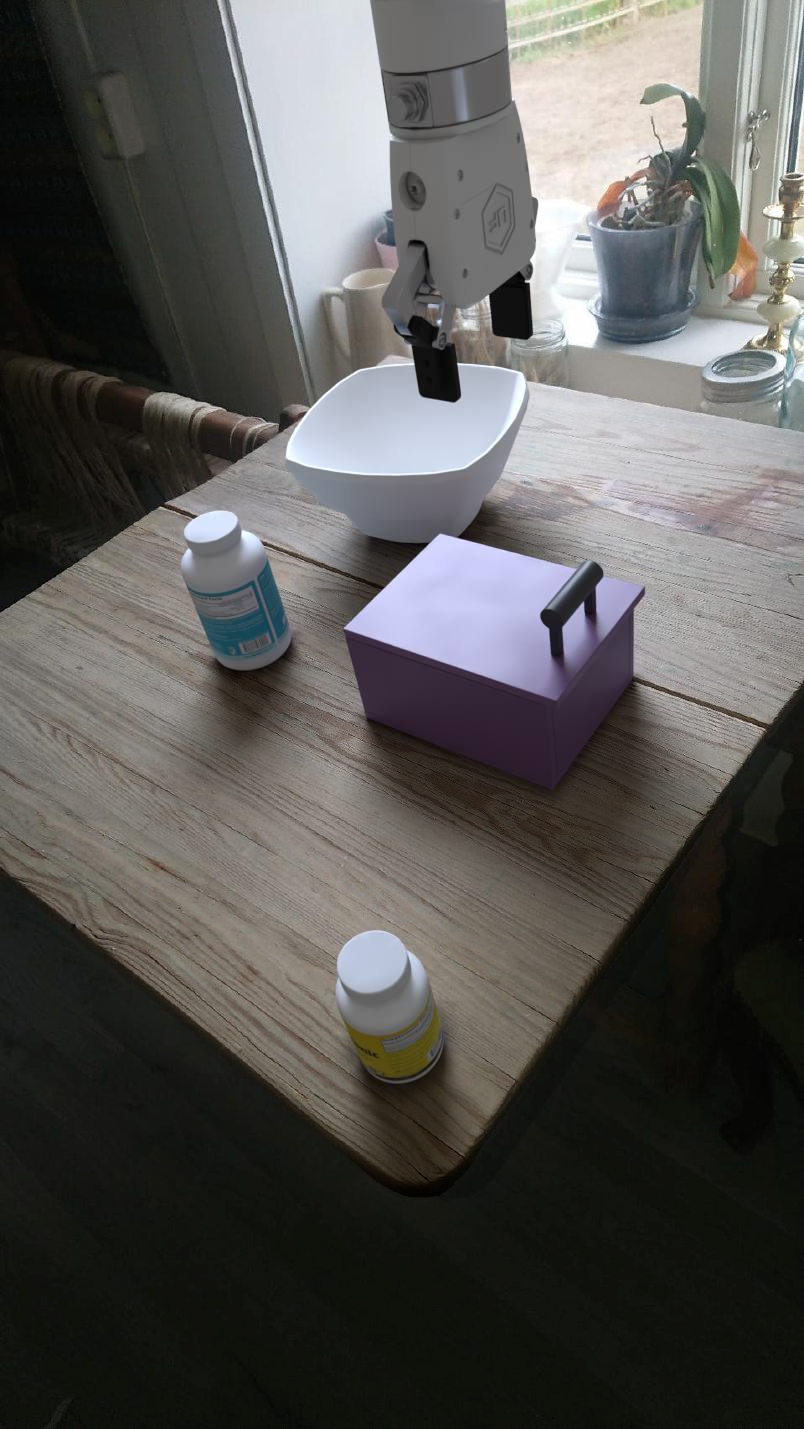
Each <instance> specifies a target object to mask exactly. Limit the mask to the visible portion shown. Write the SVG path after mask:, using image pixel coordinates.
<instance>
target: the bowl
mask: <svg viewBox="0 0 804 1429" xmlns="http://www.w3.org/2000/svg"><path fill="white" fill-rule="evenodd" d="M457 364H458V372H459V380H460V388H461V398H460V399H459V400H458V401H457V402H455V403H451V402H446V401H440V400H435V399H429V398H424V397H422V396H421V395H420V394H419V390H418V384H417V378H416V371H415V365H414V362H413V363H412V362H411V363H396V364H385V365H378V366H372V367H365V368H360V369H358V370H356V371H354V372H352V373H351V374H349V375H348V376H346V377H344V378H343V379H340V381H338V382H337V383H336V384H334V385H333V386H332V387H331V388H330V389H329V390H328V391H327V392H325V393H324V394H323V395H322V396H321V397H320V398H319V399H318V400H317V401H316V402H315V403H314V404H313V405H312V406H311V407H310V408H309V409H308V410H307V412H305V414H304V416H303V417H302V419H300V421H299V423H298V424H297V426H296V427H295V429H294V431H293V433H292V434H291V436H290V438H289V440H288V442H287V445H286V449H285V450H286V451H285V457H284V466H285V468H286V470H287V471H288V472H289V473H290V474H291V475H293V477H294V478H295V479H296V480H297V481H298V482H299V483H300V484H301V485H302V486H304V488H305V489H306V490H307V491H308V492H309V493H310V494H311V495H312V496H313V497H314V498H315V499H316V500H317V501H318V502H319V503H320V504H321V505H322V506H324V507H325V508H327V509H329V510H332V511H335V512H337V513H341V514H344V515H345V516H346V517H347V519H348V520H349V521H350V522H351V523H352V524H353V525H354V526H355V527H356V528H357V529H358V530H359V532H360V533H362V534H364V535H366V536H369V537H374V538H377V539H381V540H386V541H390V542H396V543H409V544H425V543H426V544H427V543H428V544H430V543H431V542H432V541H433V540H434V539H435V538H436V537H437V536H438V535H439V534H444V535H448V536H452V537H455V538H459V536H460V535H461V534H462V533H463V532H464V531H466V529H467V528H468V527H469V526H470V525H471V524H472V522H473V521H474V520H475V518H476V516H478V514H479V513H480V510H481V507H482V505H483V503H484V502H483V501H484V500H485V497H486V496H487V495H488V494H489V492H490V491H492V489H493V487H494V486H495V484H497V482H498V481H499V479H500V478H501V476H502V474H503V472H504V469H505V467H506V465H507V462H508V460H509V457H510V455H511V453H512V450H513V448H514V447H513V446H514V444H515V441H516V439H517V436H518V433H519V431H520V428H521V426H522V423H523V421H524V417H525V415H526V413H527V409H528V406H529V400H530V397H531V394H530V390H529V386H528V381H527V378H526V376H525V375H524V374H523V372H521V371H518V370H513V369H510V368H505V367H501V366H495V365H494V366H493V365H484V364H476V363H475V364H474V363H459V362H457Z"/></svg>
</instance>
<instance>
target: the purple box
mask: <svg viewBox="0 0 804 1429" xmlns="http://www.w3.org/2000/svg"><path fill="white" fill-rule="evenodd" d="M634 635H635V609H634V610H633V611H632V612H631V614H630V615H629V616H628V617H627V619H626V620H625V621H624V623H623V624H622V625H621V627H620V628H619V629H618V631H617V632H616V633H615V634H614V636H613V637H612V638H611V640H610V641H609V642H608V644H607V645H606V646H605V648H604V649H603V650H602V651H601V653H600V654H599V655H598V657H597V658H596V659H595V661H594V662H593V663H592V665H591V666H590V667H589V668H588V670H587V671H586V672H585V674H584V675H583V676H582V678H581V679H580V680H579V682H578V683H577V684H576V685H575V687H574V688H573V689H572V691H571V692H570V693H569V695H568V696H567V697H566V699H565V700H564V701H563V702H562V704H561V705H560V706H559V708H558V709H555V708H552V707H549V706H546V705H543V704H540V703H537V702H534V701H531V700H528V699H525V698H523V697H520V696H517V695H514V694H511V693H508V692H505V691H502V690H499V689H496V688H493V687H491V686H488V685H485V684H482V683H479V682H476V681H473V680H470V679H467V678H464V677H461V676H459V675H456V674H453V673H450V672H447V671H444V670H441V669H438V668H435V667H432V666H429V665H427V664H424V663H421V662H418V661H415V660H412V659H409V658H406V657H403V656H400V655H397V654H394V653H392V652H389V651H386V650H383V649H380V648H377V647H374V646H371V645H368V644H365V643H362V642H360V641H357V640H354V639H351V638H348V637H345V642H346V645H347V649H348V653H349V657H350V660H351V665H352V668H353V673H354V676H355V680H356V683H357V687H358V691H359V695H360V698H361V703H362V707H363V710H364V714H365V718H367V719H370V720H372V721H374V722H377V723H379V724H382V725H384V726H387V727H390V728H392V729H395V730H396V731H400V732H401V733H405V734H407V735H410V736H412V737H415V738H418V739H420V740H422V741H426V742H428V743H430V744H433V745H436V746H438V747H440V748H443V749H446V750H448V751H450V752H454V753H456V754H459V755H462V756H464V757H465V758H469V759H472V760H474V761H476V762H479V763H482V764H484V765H486V766H489V767H492V768H494V769H496V770H500V771H502V772H504V773H507V774H510V775H512V776H515V777H517V778H519V779H522V780H525V781H527V782H530V783H532V784H535V785H537V786H540V787H543V788H545V789H548V790H550V791H554V789H555V788H556V786H557V785H558V784H559V782H560V781H561V779H562V778H563V776H564V775H565V774H566V773H567V771H568V770H569V769H570V767H571V766H572V765H573V763H574V761H575V760H576V758H577V757H578V756H579V754H580V753H581V751H582V750H583V749H584V747H585V746H586V745H587V743H588V742H589V740H590V739H591V737H593V735H594V734H595V732H596V731H597V729H598V728H599V727H600V725H601V724H602V722H603V721H604V719H606V717H607V715H608V714H609V713H610V712H611V710H612V708H613V707H614V705H615V704H616V703H617V701H618V700H619V699H620V697H621V696H622V695H623V693H624V692H625V690H626V689H627V687H628V686H629V684H630V683H631V682H632V681H633V679H634V669H635V668H634V667H635V666H634V664H635V661H634V660H635V659H634V656H635V654H634V652H635V650H634V649H635V648H634V646H635V645H634V642H635V640H634V639H635V636H634Z"/></svg>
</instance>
